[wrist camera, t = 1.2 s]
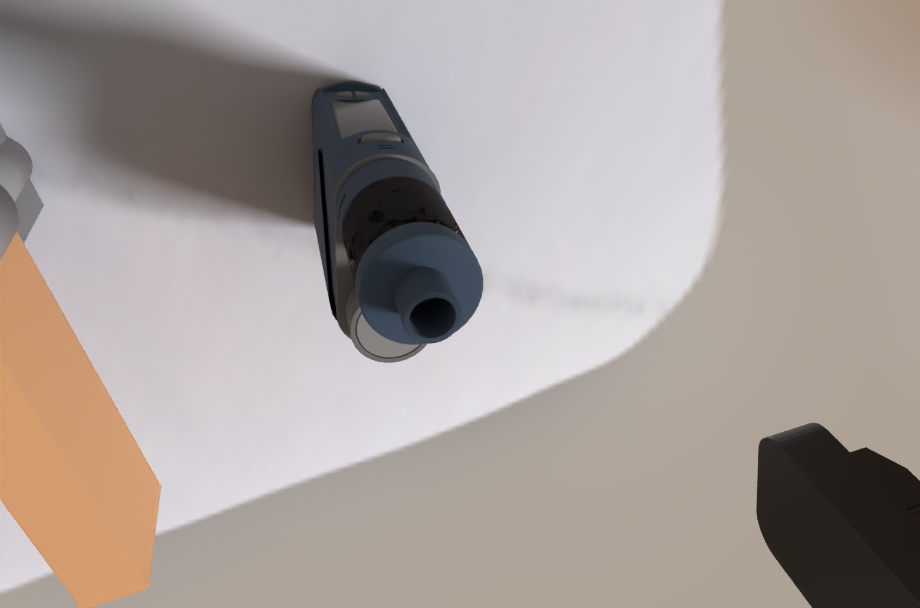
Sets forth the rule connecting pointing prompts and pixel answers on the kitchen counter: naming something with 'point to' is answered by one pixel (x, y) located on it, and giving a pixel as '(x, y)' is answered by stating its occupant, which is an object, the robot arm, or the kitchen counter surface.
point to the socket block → (19, 182)
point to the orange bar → (66, 442)
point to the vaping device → (385, 229)
